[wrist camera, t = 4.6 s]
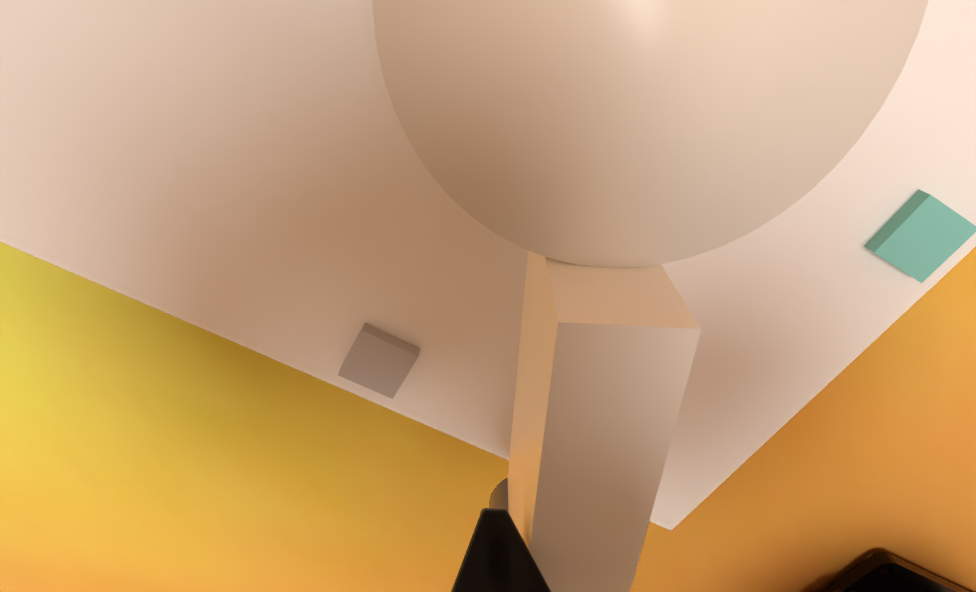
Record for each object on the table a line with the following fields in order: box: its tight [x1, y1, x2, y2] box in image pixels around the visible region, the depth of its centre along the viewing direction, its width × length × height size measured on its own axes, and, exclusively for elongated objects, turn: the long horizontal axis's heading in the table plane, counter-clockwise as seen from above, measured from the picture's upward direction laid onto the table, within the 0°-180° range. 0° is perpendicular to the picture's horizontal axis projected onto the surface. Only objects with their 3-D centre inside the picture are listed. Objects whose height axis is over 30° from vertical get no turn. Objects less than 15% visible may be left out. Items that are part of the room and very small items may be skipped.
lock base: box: [0, 0, 976, 530], centre depth 10 cm, size 22×22×3 cm
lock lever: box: [372, 0, 929, 592], centre depth 9 cm, size 15×6×4 cm, turn 177°
